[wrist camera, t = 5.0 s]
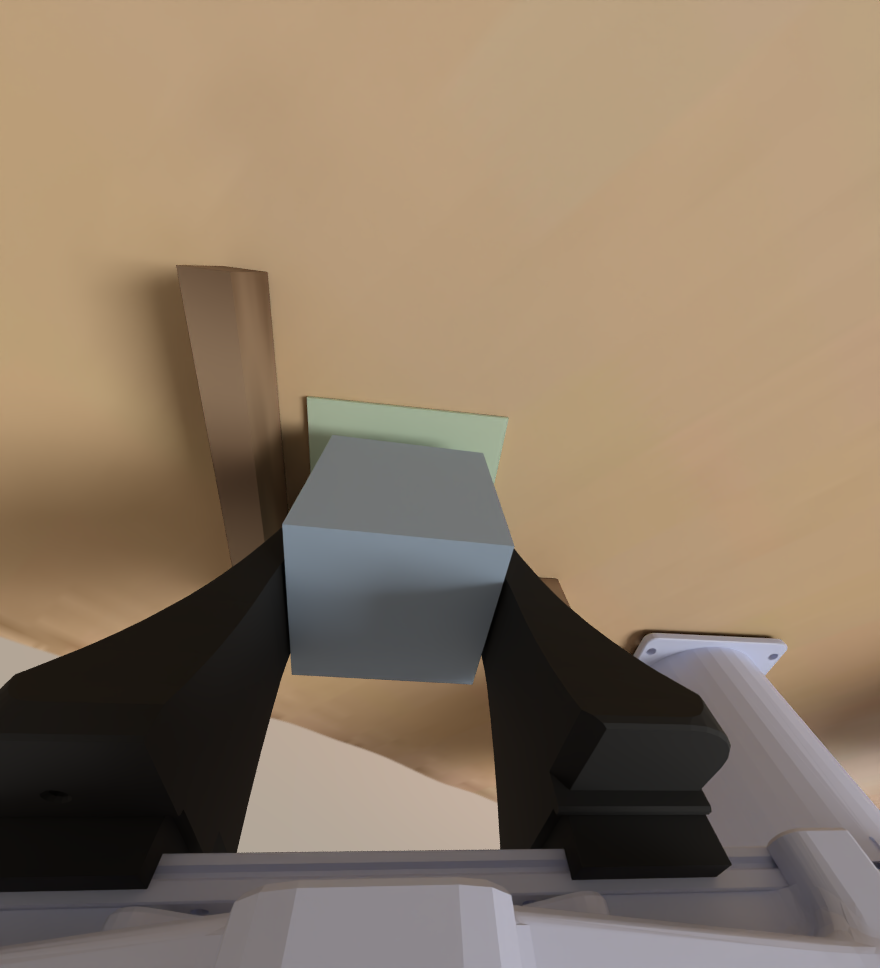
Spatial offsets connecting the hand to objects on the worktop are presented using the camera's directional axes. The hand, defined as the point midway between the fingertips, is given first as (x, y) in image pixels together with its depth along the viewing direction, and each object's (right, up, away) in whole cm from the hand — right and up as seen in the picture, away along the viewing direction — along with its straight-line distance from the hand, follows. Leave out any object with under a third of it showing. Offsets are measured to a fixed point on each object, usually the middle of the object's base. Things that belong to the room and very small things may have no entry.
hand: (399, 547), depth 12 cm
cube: (0, +1, +2) cm, 2 cm away
